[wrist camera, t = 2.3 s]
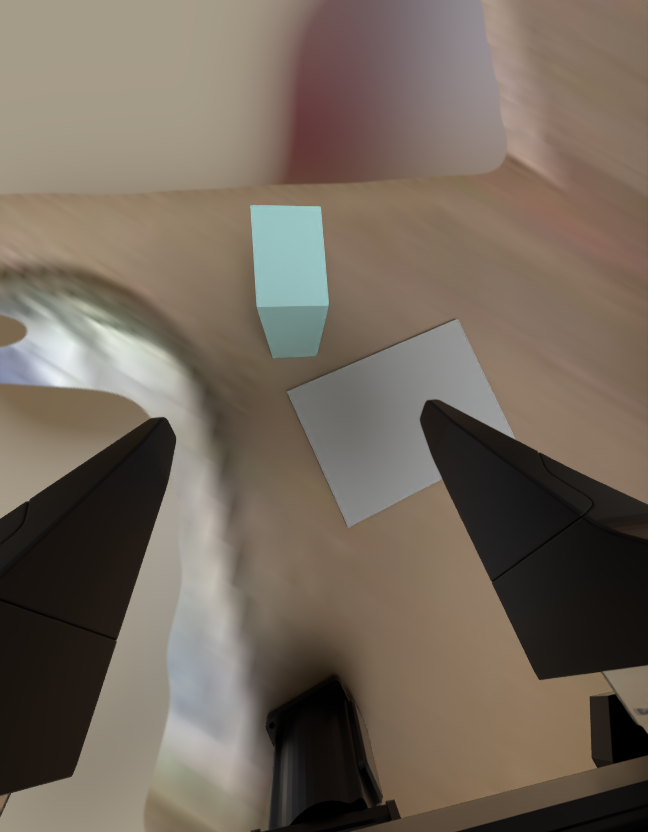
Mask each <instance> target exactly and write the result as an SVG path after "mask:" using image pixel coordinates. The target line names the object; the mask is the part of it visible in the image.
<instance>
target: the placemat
mask: <svg viewBox="0 0 648 832" xmlns="http://www.w3.org/2000/svg"><path fill="white" fill-rule="evenodd" d="M287 393H288V395H289V398H290V400H291V402H292V404H293V407H294V409H295V411H296V413H297V415H298V418H299V420H300V422H301V424H302V427H303V429H304V431H305V433H306V435H307V438H308V440H309V442H310V444H311V446H312V449H313V451H314V453H315V455H316V458H317V460H318V462H319V464H320V466H321V469H322V471H323V473H324V475H325V478H326V480H327V482H328V484H329V486H330V489H331V491H332V493H333V495H334V497H335V500H336V502H337V504H338V506H339V509H340V511H341V513H342V515H343V517H344V520H345V522H346V524H347V526H348V528H349V527H351V526H353V525H355V524H357V523H359V522H361V521H362V520H364V519H366V518H368V517H370V516H372V515H374V514H376V513H378V512H380V511H382V510H384V509H385V508H387V507H389V506H391V505H393V504H395V503H397V502H399V501H401V500H403V499H405V498H407V497H409V496H410V495H412V494H414V493H416V492H418V491H420V490H422V489H424V488H426V487H428V486H430V485H432V484H434V483H435V482H437V481H439V480H441V479H442V477H441V475H440V473H439V471H438V469H437V467H436V465H435V463H434V460H433V458H432V456H431V453H430V450H429V447H428V444H427V441H426V439H425V436H424V433H423V430H422V427H421V424H420V415H421V413H422V410H423V407H424V404H425V402H426V401H427V400H432V399H439V400H441V401H443V402H445V403H446V404H448V405H450V406H452V407H454V408H456V409H458V410H460V411H462V412H464V413H466V414H467V415H469V416H471V417H473V418H475V419H477V420H479V421H481V422H483V423H485V424H487V425H488V426H490V427H492V428H494V429H496V430H498V431H500V432H502V433H504V434H506V435H507V436H509V437H511V438H513V439H515V437H514V435H513V433H512V431H511V429H510V427H509V425H508V423H507V421H506V419H505V416H504V414H503V412H502V410H501V408H500V406H499V404H498V402H497V400H496V398H495V396H494V394H493V391H492V389H491V387H490V385H489V383H488V381H487V379H486V377H485V375H484V373H483V371H482V369H481V366H480V364H479V362H478V360H477V358H476V356H475V354H474V352H473V350H472V348H471V346H470V344H469V342H468V339H467V337H466V335H465V333H464V331H463V329H462V327H461V325H460V323H459V321H458V319H456V320H453V321H451V322H449V323H446V324H444V325H442V326H439V327H437V328H435V329H432V330H430V331H428V332H425V333H423V334H420V335H418V336H416V337H413V338H411V339H409V340H406V341H404V342H402V343H399V344H397V345H395V346H392V347H390V348H388V349H385V350H383V351H381V352H378V353H376V354H374V355H371V356H369V357H367V358H364V359H362V360H360V361H357V362H355V363H353V364H350V365H348V366H345V367H343V368H341V369H338V370H336V371H334V372H331V373H329V374H327V375H324V376H322V377H320V378H317V379H315V380H313V381H310V382H308V383H306V384H303V385H301V386H299V387H296V388H294V389H292V390H289V391H287ZM515 440H516V439H515Z"/></svg>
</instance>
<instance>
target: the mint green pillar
mask: <svg viewBox="0 0 648 832" xmlns="http://www.w3.org/2000/svg"><path fill="white" fill-rule="evenodd" d="M250 207H251V223H252V239H253V255H254V272H255V288H256V304H257V310H258V313H259V316H260V319H261V322H262V325H263V329H264V332H265V335H266V338H267V341H268V344H269V348H270V351H271V354H272V357H273V358H289V357H312V356H317V354H318V349H319V345H320V341H321V337H322V333H323V328H324V324H325V320H326V316H327V312H328V307H329V300H328V288H327V276H326V264H325V253H324V241H323V229H322V217H321V207H318V206H271V205H250Z"/></svg>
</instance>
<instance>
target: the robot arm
mask: <svg viewBox="0 0 648 832" xmlns="http://www.w3.org/2000/svg"><path fill="white" fill-rule="evenodd" d="M420 424H421V427H422V430H423V433H424V436H425V439H426V441H427V444H428V447H429V450H430V453H431V456H432V458H433V460H434V463H435V465H436V467H437V469H438V471H439V473H440V475H441V477H442V479H443V481H444V484H445V486H446V488H447V490H448V492H449V494H450V496H451V498H452V500H453V502H454V504H455V507H456V509H457V511H458V513H459V515H460V517H461V519H462V521H463V523H464V525H465V527H466V530H467V532H468V534H469V536H470V538H471V540H472V542H473V544H474V546H475V548H476V550H477V553H478V555H479V557H480V559H481V561H482V563H483V565H484V567H485V569H486V571H487V574H488V576H489V578H490V580H491V581H492V584H493V586H494V589H495V591H496V593H497V595H498V597H499V599H500V601H501V603H502V605H503V607H504V609H505V612H506V614H507V616H508V618H509V620H510V622H511V624H512V626H513V628H514V630H515V632H516V635H517V637H518V639H519V641H520V643H521V645H522V647H523V649H524V651H525V653H526V655H527V658H528V660H529V662H530V664H531V666H532V668H533V670H534V672H535V674H536V675H537V677H538V679H539V680H545V679H552V678H559V677H567V676H574V675H581V674H589V673H596V672H601V674H602V675H603V677H604V678H605V680H606V681H607V683H608V684H609V685H610V687H611V688H612V690H613V691H612V692H608V693H603V694H599V695H594V696H590V720H591V750H592V759H593V761H594V763H595V765H596V767H597V768H596V769H593V770H589V771H585V772H581V773H577V774H573V775H569V776H565V777H561V778H558V779H554V780H550V781H546V782H542V783H538V784H534V785H530V786H526V787H522V788H519V789H515V790H511V791H507V792H503V793H499V794H495V795H491V796H487V797H484V798H480V799H476V800H472V801H468V802H464V803H460V804H456V805H452V806H449V807H445V808H441V809H437V810H433V811H429V812H425V813H421V814H417V815H413V816H410V817H406V818H402V819H401V817H400V815H399V812H398V809H397V806H396V803H395V800H389V801H386V804H384V805H380V804H382V798H383V795H382V791H381V786H380V782H379V778H378V774H377V769H376V765H375V761H374V757H373V752H372V748H371V744H370V740H369V736H368V731H367V728H366V726H365V724H364V721H363V719H362V717H361V715H360V712H359V710H358V708H357V706H356V703H355V702H354V701H353V700H351V701H350V700H349V698H348V696H347V694H346V691H345V689H344V687H343V685H342V682H341V680H340V678H339V677H338V676H332V677H331V678H329V679H327V680H326V681H324V682H322V683H321V684H319V685H317V686H316V687H314V688H312V689H311V690H309V691H307V692H306V693H304V694H302V695H301V696H299V697H297V698H296V699H294V700H292V701H291V702H289V703H287V704H286V705H284V706H282V707H281V708H279V709H277V710H276V711H274V712H272V713H271V714H269V715H268V717H267V720H266V730H267V732H268V734H269V737H270V739H271V741H272V744H273V746H274V756H273V769H272V782H271V795H270V808H269V821H268V830H265V831H261V832H648V504H646V503H643V502H641V501H639V500H637V499H635V498H633V497H631V496H628V495H626V494H624V493H622V492H620V491H618V490H615V489H613V488H611V487H609V486H607V485H605V484H603V483H600V482H598V481H596V480H594V479H592V478H590V477H588V476H586V475H584V474H581V473H579V472H577V471H575V470H573V469H571V468H569V467H567V466H565V465H563V464H561V463H559V462H557V461H555V460H553V459H551V458H550V457H548V456H546V455H544V454H542V453H538V451H536V450H534V449H532V448H530V447H528V446H527V445H525V444H523V443H521V442H519V441H517V440H515V439H513V438H511V437H509V436H507V435H506V434H504V433H502V432H500V431H498V430H496V429H494V428H492V427H490V426H488V425H487V424H485V423H483V422H481V421H479V420H477V419H475V418H473V417H471V416H469V415H467V414H466V413H464V412H462V411H460V410H458V409H456V408H454V407H452V406H450V405H448V404H446V403H445V402H443V401H441V400H439V399H432V400H427V401H426V402H425V404H424V407H423V410H422V413H421V415H420ZM175 444H176V436H175V433H174V431H173V429H172V427H171V425H170V424H169V422H168V420H167V419H166V418H164V417H157V418H150V419H149V420H147V421H146V422H144V423H143V424H141V425H140V426H138V427H137V428H135V429H134V430H132V431H131V432H129V433H128V434H126V435H125V436H123V437H122V438H120V439H119V440H117V441H116V442H114V443H113V444H111V445H110V446H108V447H107V448H105V449H104V450H103V451H101V452H99V453H98V454H96V455H95V456H93V457H92V458H90V459H89V460H88V461H86V462H84V463H83V464H81V465H80V466H78V467H77V468H76V469H74V470H73V471H71V472H70V473H68V474H67V475H65V476H64V477H62V478H61V479H59V480H58V481H56V482H55V483H53V484H52V485H50V486H49V487H47V488H46V489H44V490H43V491H41V492H40V493H38V494H37V495H35V496H34V497H32V498H31V499H30V500H29V501H27V502H25V503H23V504H22V505H20V506H19V507H17V508H16V509H14V510H13V511H11V512H10V513H8V514H7V515H5V516H4V517H2V518H1V519H0V816H1V814H2V812H3V810H4V808H5V806H6V803H7V801H8V799H9V797H10V795H11V793H13V792H17V791H21V790H24V789H28V788H32V787H35V786H39V785H43V784H47V783H50V782H54V781H58V780H62V779H65V778H69V777H71V776H72V775H73V773H74V770H75V768H76V765H77V762H78V759H79V757H80V753H81V750H82V747H83V744H84V741H85V738H86V735H87V732H88V729H89V726H90V722H91V719H92V716H93V713H94V710H95V707H96V704H97V701H98V698H99V695H100V692H101V688H102V686H103V682H104V679H105V676H106V673H107V670H108V667H109V664H110V661H111V658H112V655H113V651H114V649H115V646H116V642H117V641H116V640H117V638H118V635H119V632H120V629H121V626H122V623H123V620H124V617H125V614H126V611H127V608H128V605H129V602H130V598H131V595H132V592H133V589H134V586H135V583H136V580H137V577H138V574H139V571H140V568H141V564H142V561H143V558H144V555H145V552H146V549H147V546H148V543H149V540H150V537H151V534H152V531H153V527H154V524H155V521H156V518H157V515H158V512H159V509H160V506H161V502H162V500H163V496H164V494H165V491H166V487H167V484H168V480H169V476H170V471H171V465H172V460H173V455H174V450H175ZM334 684H337V685H335V686H334ZM271 722H274V723H271ZM251 832H260V829H257V830H252V831H251Z"/></svg>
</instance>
